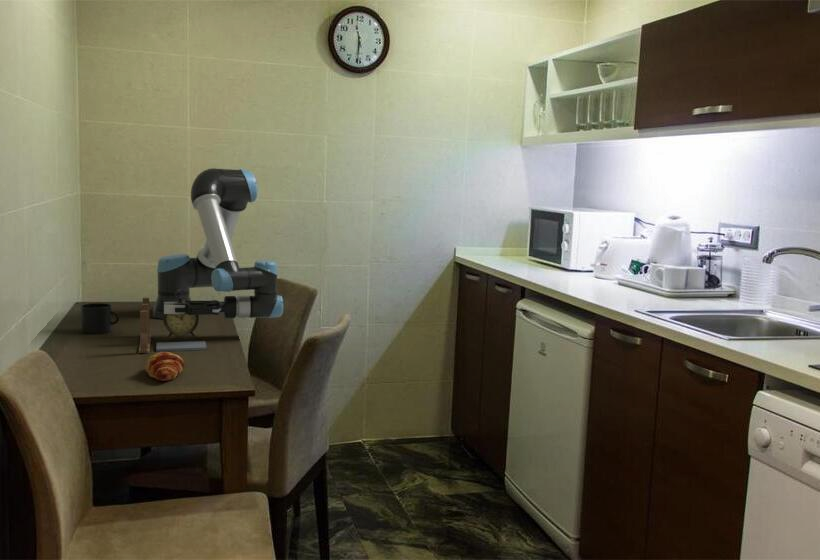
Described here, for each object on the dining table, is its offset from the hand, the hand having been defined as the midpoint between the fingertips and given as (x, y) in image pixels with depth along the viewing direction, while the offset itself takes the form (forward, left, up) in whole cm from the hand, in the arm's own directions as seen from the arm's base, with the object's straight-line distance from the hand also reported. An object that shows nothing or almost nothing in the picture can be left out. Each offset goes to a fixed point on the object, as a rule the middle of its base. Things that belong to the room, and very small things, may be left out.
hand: (164, 307), depth 247 cm
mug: (-16, -21, -11) cm, 28 cm away
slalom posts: (+6, -6, -11) cm, 14 cm away
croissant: (+44, 0, -11) cm, 45 cm away
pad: (+12, +5, -11) cm, 17 cm away
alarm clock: (0, +5, -10) cm, 12 cm away
